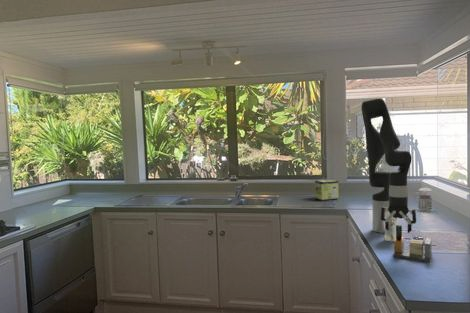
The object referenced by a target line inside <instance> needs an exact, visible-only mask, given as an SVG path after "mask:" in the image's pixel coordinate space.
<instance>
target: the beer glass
mask: <svg viewBox="0 0 470 313" xmlns="http://www.w3.org/2000/svg"><path fill="white" fill-rule="evenodd" d="M389 215H390V212H389V211H388V210H387V211H386V212H385V218H388V216H389ZM398 223H399V218H394V217H393V216H392V218H391V219H390V220H389V231H388V230H387V229H386V228H385V221H383V224H384V230H385V233H384V237H383V240H384V241H385V242H391V243H394V240H395V238H396V225H399V224H398Z"/></svg>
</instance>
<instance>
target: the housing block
mask: <svg viewBox="0 0 470 313" xmlns="http://www.w3.org/2000/svg"><path fill="white" fill-rule="evenodd" d="M409 248H410V254H416V255H423V250H424V240H421V239H414V238H413V239H410V240H409Z"/></svg>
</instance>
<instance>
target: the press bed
mask: <svg viewBox="0 0 470 313" xmlns="http://www.w3.org/2000/svg"><path fill="white" fill-rule="evenodd" d="M392 257H393V258H395V259H403V260H409V261H417V262H423V263H431V257H432V237H428V236H427V237H426V238H425V241H424V249H423V255H416V254H410V247H406V246H404V249H403V251H402V253H399V252H394V251H393V255H392Z"/></svg>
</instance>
